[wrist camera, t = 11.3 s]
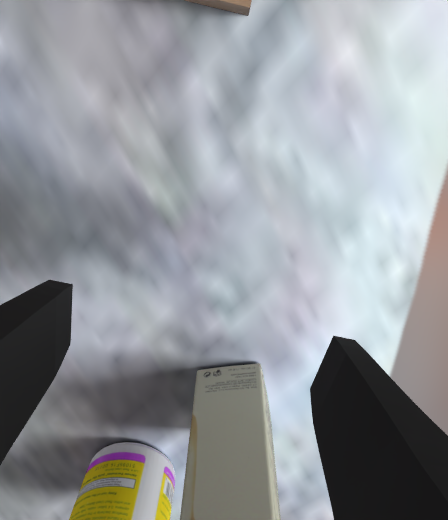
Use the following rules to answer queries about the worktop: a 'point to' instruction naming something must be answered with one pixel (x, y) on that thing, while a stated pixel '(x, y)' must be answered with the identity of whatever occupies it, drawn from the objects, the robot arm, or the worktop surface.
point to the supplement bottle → (126, 485)
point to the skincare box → (230, 448)
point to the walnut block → (227, 5)
